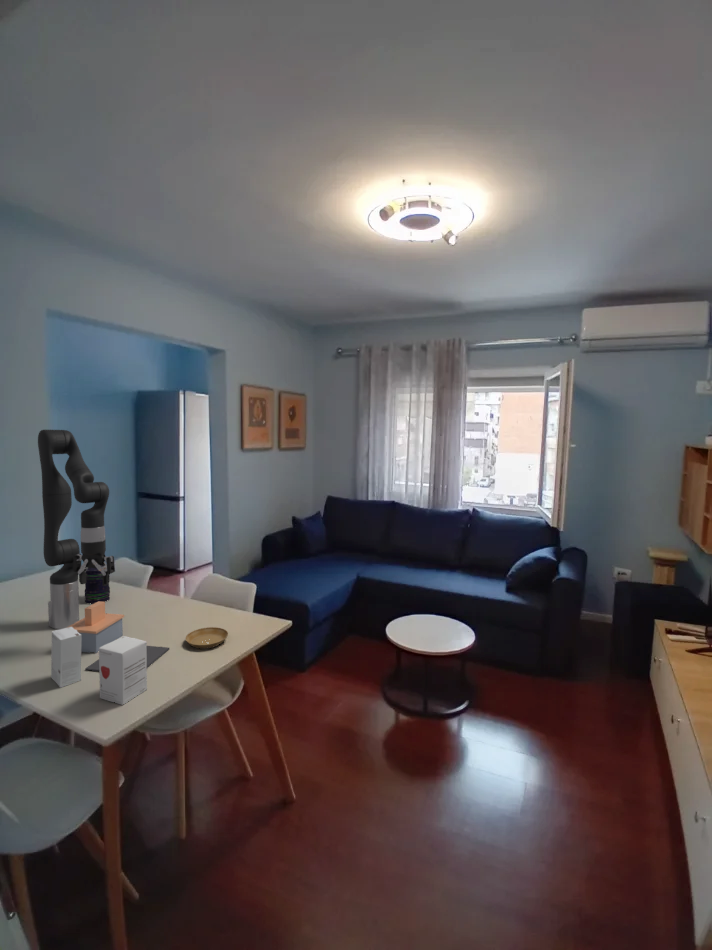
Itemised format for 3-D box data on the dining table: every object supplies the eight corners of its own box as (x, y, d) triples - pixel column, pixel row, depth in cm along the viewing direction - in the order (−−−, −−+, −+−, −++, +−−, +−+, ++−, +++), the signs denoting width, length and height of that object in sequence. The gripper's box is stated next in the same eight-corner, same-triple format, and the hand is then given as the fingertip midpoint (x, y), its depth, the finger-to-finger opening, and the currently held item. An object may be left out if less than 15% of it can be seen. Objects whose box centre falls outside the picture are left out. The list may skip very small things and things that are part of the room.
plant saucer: (205, 655, 157) (205, 648, 156) (176, 645, 164) (176, 638, 164) (236, 639, 170) (236, 632, 169) (208, 630, 177) (208, 624, 176)
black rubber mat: (85, 670, 145) (85, 668, 145) (121, 645, 163) (121, 643, 162) (138, 675, 142) (138, 673, 142) (169, 649, 160) (169, 647, 160)
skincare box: (50, 678, 140) (49, 631, 138) (73, 671, 144) (71, 625, 143) (60, 688, 134) (59, 639, 133) (83, 680, 139) (81, 633, 138)
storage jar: (103, 594, 212) (102, 563, 211) (114, 599, 206) (113, 567, 205) (80, 600, 204) (79, 567, 203) (91, 606, 198) (90, 572, 197)
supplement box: (98, 698, 130) (97, 647, 128) (124, 683, 138) (123, 634, 137) (122, 706, 126) (121, 653, 125) (148, 689, 135) (147, 640, 134)
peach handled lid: (96, 638, 155) (95, 614, 155) (64, 635, 157) (63, 611, 156) (124, 620, 170) (124, 598, 169) (94, 618, 172) (94, 596, 171)
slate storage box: (96, 653, 156) (95, 633, 156) (67, 650, 158) (66, 630, 157) (122, 635, 170) (122, 617, 169) (95, 633, 171) (95, 615, 171)
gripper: (66, 540, 158) (68, 586, 159) (104, 542, 156) (105, 589, 157) (82, 536, 166) (83, 580, 167) (118, 537, 164) (119, 582, 165)
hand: (94, 584), depth 162 cm, fingers open, 8 cm apart
